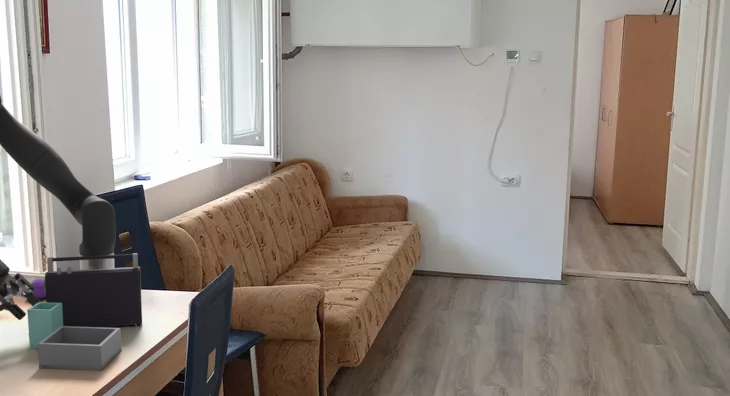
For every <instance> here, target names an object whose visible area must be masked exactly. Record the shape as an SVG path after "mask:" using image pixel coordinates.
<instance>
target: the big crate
mask: <svg viewBox="0 0 730 396" xmlns="http://www.w3.org/2000/svg"><path fill="white" fill-rule="evenodd" d="M121 333H122V332H121V328H120V327H73V326H60V327H59V328H58V329H56V330H55V331H54V332H52V333H51V334H50V335H49V336H47V337H46V338H45V339H43V340H42V341H41V342H39V343H38V348H37V353H38V369H51V370H53V369H55V370H77V371H78V370H79V371H80V370H81V371H103V370H104V369H105V368H106V367H107V366H109V364H110V363H111V362H112V361H113V360H114V359H115V358H116V357H117V356H118V355H119V354H120V353H121V352H122V344H121V343H122V341H121V340H122V339H121V338H122V335H121Z"/></svg>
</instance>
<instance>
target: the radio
mask: <svg viewBox="0 0 730 396" xmlns="http://www.w3.org/2000/svg"><path fill="white" fill-rule="evenodd" d="M138 257H139V256H138V252H136V253H135V252H134V253H128V254H127V253H126V254H125V253H124V254H123V253H122V254H114V255H101V256H80V255H79V256H65V257H64V256H63V257H53V256H52V257H51V256H50V257H47V258H46V263H47V264H46V265H47V271H46V272H45V274H44V278H43V279H44V282H43V287H44V291H46V297H45V300H46V302H50V303H62V312H63V326H73V327H103V328H107V327H115V326H116V327H119V326H130V325H134V326H135V327H138V325H142V324H143V309H142V308H143V307H142V306H143V305H142V282H141V281H142V279H141V275H142V274H141V266H139V262H138V261H139V260H138V259H139V258H138ZM113 258H114V259H129V258H131V259H132V267H130V266H129V267H114V268H108V269H89V270H80V269H75V270H74V269H73V270H72V267H71V266H69V267H66V269H67V270H62V268H61V267H57V268H56V271H54V262H69V261H70V262H71V261H80V260H93V259H113Z"/></svg>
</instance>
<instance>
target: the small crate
mask: <svg viewBox="0 0 730 396" xmlns="http://www.w3.org/2000/svg"><path fill="white" fill-rule="evenodd" d="M26 311H27V323H28V325H27V326H28V327H27V329H28V339H29V349H38V343H39V342H41V341H42V340H43V339H45V338H46V337H47V336H49V335H50V334H51V333H52V332H54V331H55V330H56V329H58V328H59V327H60V326H63V312H62V303H50V302H44V301H41V302H38V303H37V304H35V305H34V306H32V305H31V306H30V307H29V308H28V309H26Z"/></svg>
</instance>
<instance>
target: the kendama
mask: <svg viewBox="0 0 730 396" xmlns="http://www.w3.org/2000/svg"><path fill="white" fill-rule="evenodd" d="M44 279H45V278H37V279H35V280H34V281H32V282H30V283H31V284H32V285H33V286H34V287H35V289H34V290H33V294H34V295H35V296H36V297H37V298H38V299H39V300H40V299H44V298H45V299H46V291H44V287H43V282H44Z"/></svg>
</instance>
